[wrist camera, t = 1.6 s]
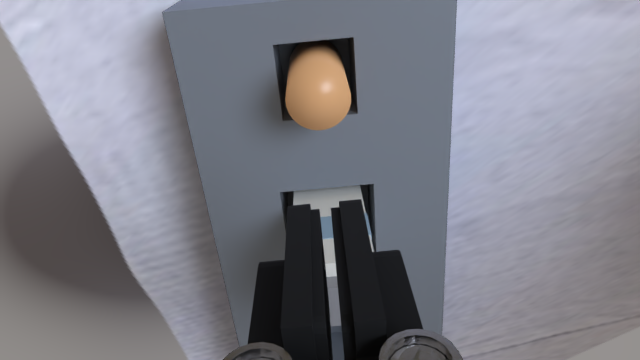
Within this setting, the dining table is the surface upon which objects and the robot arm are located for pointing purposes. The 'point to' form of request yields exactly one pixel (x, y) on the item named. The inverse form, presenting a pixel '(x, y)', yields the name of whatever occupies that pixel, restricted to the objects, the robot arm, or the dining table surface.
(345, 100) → the brown egg
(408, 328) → the robot arm
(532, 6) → the dining table surface
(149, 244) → the dining table surface
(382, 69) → the panel
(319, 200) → the plug
